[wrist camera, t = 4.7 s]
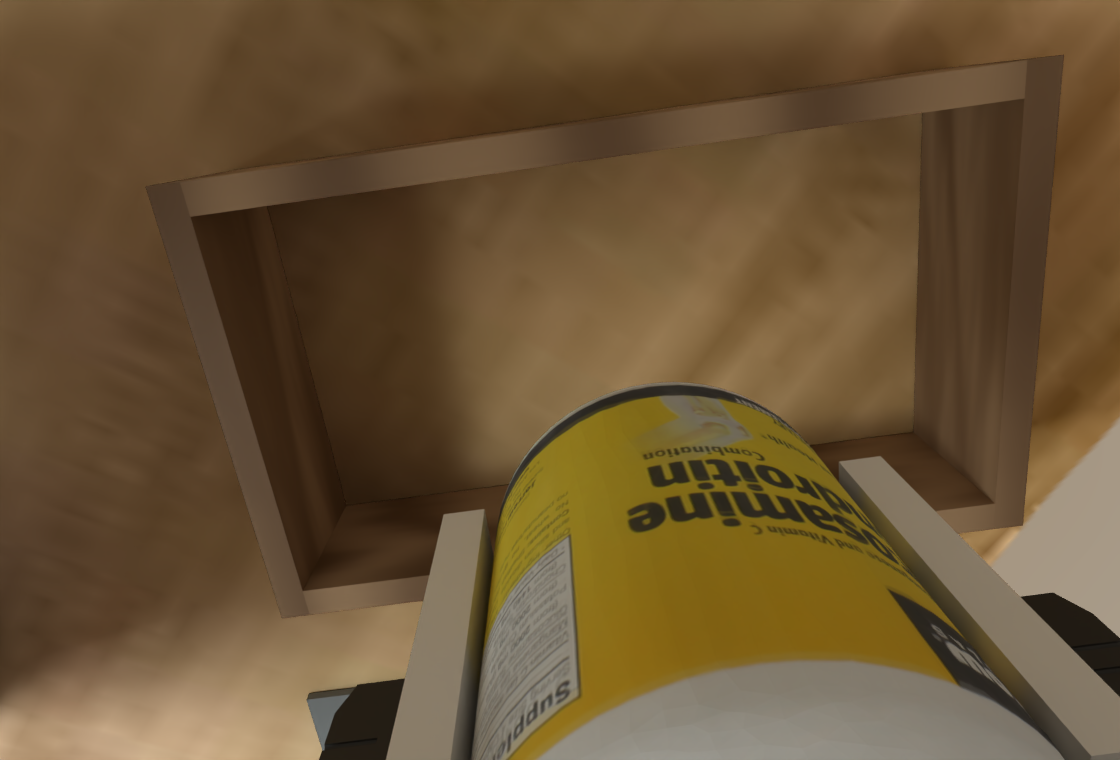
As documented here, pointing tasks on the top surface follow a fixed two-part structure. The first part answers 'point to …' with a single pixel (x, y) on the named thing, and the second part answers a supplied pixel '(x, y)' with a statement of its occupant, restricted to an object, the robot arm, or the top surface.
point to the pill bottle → (715, 604)
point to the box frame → (940, 95)
